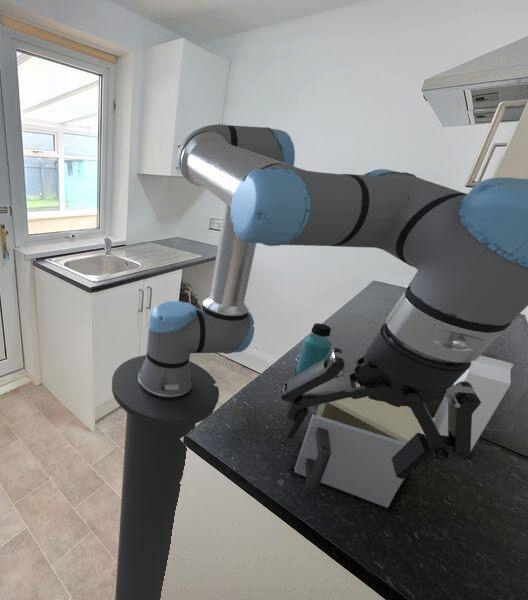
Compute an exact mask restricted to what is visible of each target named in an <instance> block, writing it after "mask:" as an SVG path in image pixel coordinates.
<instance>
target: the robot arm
mask: <svg viewBox="0 0 528 600" xmlns="http://www.w3.org/2000/svg"><path fill="white" fill-rule="evenodd" d="M295 158H296V152H295V145H294V142H293V140H292V137H291V136H290V134H289V133H287V131H284V130H283V129H276V128H272V127H268V126H267V127H266V126H265V127H264V126H263V127H261V126H247V125H246V126H245V125H231V124H221V123H219V124H218V123H217V124H210V125H205V126H202V127H200V128H197V129H196V130H194V131H192V132H191V133H190V134H188V135H187V136H186V137H185V138H184V140H183V142H181V144H180V147H179V150H178V154H177V165H178V170H179V171H180V173H181V175H182V177H184V179H185V180H186V181H187V182H189V183H190V184H192V185H193V186H197V187H204V189H205V188H206V189H207V190H208V191H209V192H210V193H211V194H213V195H214V196H215V197H217V198H218V199H219V200H220V201H221V202H223V203H224V209H223V215H222V221H221V226H220V231H219V232H220V233H219V239H218V245H217V249H216V250H217V251H216V257H215V262H214V267H213V268H214V269H213V275H212V281H211V287H210V291H209V296H208V297H206V298H204V300H202V304H201V309H199V308H198V309H196V307H195V305H194V304H192V303H190V302H186V301H184V302H183V301H181V300H173V301H165V302H162V303H159V304H158V305H155V306H154V307H153V308H152V310H151V311H150V314H149V321H148V324H147V327H148V332H147V344H146V354H145V355H146V358H145V360H144V363H143V365H142V367H141V369H140V371H139V374H138V384H139V386H140V388H141V389H142V390H143V391H144V392H145V393H147V394H149V395H150V396H153V397H155V398H159V399H164V400H176V399H180V398H183V397H185V396H187V395H188V394H189V393H190V392H191V390H192V384H193V380H192V375H191V371H190V366H189V361H190V357H191V354H227V355H230V354H234V353H241V352H244V351H245V350H246V349H247V348H248V347H250V344H252V341H253V338H254V335H255V326H254V324H255V320H254V317H253V315H252V313H251V312H250V308H249V306H248V305H247V303H246V302H245V300H246V295H247V290H248V285H249V281H250V277H251V276H250V275H251V271H252V268H253V262H254V257H255V253H256V249H257V244H261V245H264V246H268V247H279V246H303V247H304V246H308V247H309V246H310V247H314V246H315V247H339V248H341V247H342V248H344V247H345V248H371V249H372V248H373V249H379V250H382V251H384V252H386V253H388V254H389V255H391V256H393V257H394V258H396V259H398V260H399V261H401V262H403V263H405V264H406V265H408V266H410V267H413V268H414V269H416V272H415V274H414V275H413V277H412V279H411V281H410V282H409V284H408V286H407V288H406V289H405V291H404V292H403V293H402V295H401V296H400V298H399V299H398V301H397V302H396V304H395V306H394V307H393V308H392V310H391V312H390V313H389V314H388V316H387V318H386V320H385V323H384V324H382V326H381V327H380V329H379V330H378V332H376V334H375V336H374V338H373V339H372V341H371V342H370V344H369V345H368V347H367V349H366V351H365V353H364V354H363V355H362V356H360V357H358V358H357V359H355V358H353V357H350V356H347V355H344V354H343V350H342V349H341V348H339V347H336V348H335V347H334V348H331V349H330V351H329V353H328V355H327V356H326V357H325V358H324V359H323V360H321V361H320V362H318V363H316V364H315V365H313V366H311V367H309V368H308V369H306V370H304V371H302V372H301V373H299V374H297V375H296V376H292V377H290V378H289V379H287V380H285V381H283V382H282V383H281V394H280V395H281V396H280V397H281V400H282V401H284V402H288V405H287V407H286V419H288V420H287V422H286V439H289V440H293V439H294V438H295V436H296V434H297V432H298V431H299V429H300V427H301V426H302V424H303V422H304V421H305V419H306V417H307V416H308V414H309V408H311V407H315V406H319V404H324V403H328V402H332V401H336V400H340V399H345V398H349V397H351V398H352V399H359V398H363V397H367V396H368V398H369V399H372V400H376V401H382V402H386V403H388V404H390V405H392V406H396V407H400V406H408V407H410V408H411V410H412V411H413V413H414V415H415V417H416V418H417V420H418V422H419V424H420V426H421V428H422V430H423V432H424V434H425V435H424V434H421V433H417V434H416V435H415V436H414V437H413V438H412V439H411V440H410V441H409V442H408V443H407V444H406V445H405V446H404V447H403V448H402V449H401V450H400V451H399V452H398V453H397V454H395V455H394V456H393V457H392V458H391V459H392V462H393V466H394V470H395V474H396V477H398V478H401V479H404V478H405V479H406V477H407V476H409V475H410V474H411V473H412V472H413V471H414V470H416V469H417V468H418V467H419V466H420V465H423V466H427V465H429V464H431V463H432V462H433V461H434V460H435V459H437V460H438V461H441V462H444V461H445V462H446V461H449V460H451V459H450V458H451V457H450V455H449V454H455V456H457V457H458V458H460V459H468V458H470V456H471V452H470V449H471V427H472V414H473V412H474V411H475V410H476V409H477V407H478V406H479V405H480V404H481V401H480V399H479V398H478V396H477V394H476V392H475V391H474V389H473V387H472V386H471V384H470V383H469V382H464V381H462V382H458V383H457V384H456V385H453V384H454V383H455V382H456V381H457V380H458V379H459V378H460V377H461V376H462V375H463V374H464V373H465V372H466V370H467V369H468V368H469V367H470V366H471V361H474V360H476V359H477V358H478V357H479V356H480V355H481V356H482V354H484V353H485V352H486V350H488V348H489V347H490V346H491V345H492V344H493V343H494V342H495V341H496V340H497V339H498V338H499V337H500V336H501V335H502V334H503V333H504V332H505V331H506V329H507V328H508V327H509V326H510V325H511V324H512V323H513V322H514V321H515V319H516V318H518V316H519V315H520V314H521V313H522V312H523V311H524V310H525V309H526V308H527V307H528V179H527V178H517V177H490V178H486V179H484V180H481V181H480V182H478V183H476V184H475V185H474V186H473V187H472V188H471V189H470V190H469V192H468V193H465V192H462V191H460V190H456V189H453V188H450V187H447V186H445V185H441V184H438V183H435V182H432V181H429V180H427V179H424V178H420V177H417V176H416V175H415V174H413V173H410V172H407V171H406V172H405V171H404V172H401V171H397V170H396V171H395V170H392V169H388V168H387V169H385V168H380V169H374V170H372V171H369V172H367V173H365V174H350V173H333V172H321V171H312V170H305V169H302V168H299V167H297V166H295V160H296V159H295ZM338 375H339V377H337V376H338ZM357 380H358V382H359V384H360V387H357V388H356V381H357ZM444 397H446V399H447V401H448V436H443V435H440V433H439V431H438V429H437V427H436V425H435V423H434V421H433V419H432V418H433V417H432V415H431V413H430V411H429V409H428V407H427V405H426V403H425V402H431V401H434V400H438V399H441V398H444ZM425 436H426V437H425ZM405 479H404V480H405Z"/></svg>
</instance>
